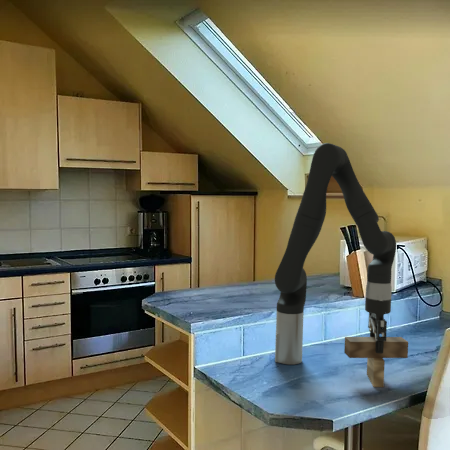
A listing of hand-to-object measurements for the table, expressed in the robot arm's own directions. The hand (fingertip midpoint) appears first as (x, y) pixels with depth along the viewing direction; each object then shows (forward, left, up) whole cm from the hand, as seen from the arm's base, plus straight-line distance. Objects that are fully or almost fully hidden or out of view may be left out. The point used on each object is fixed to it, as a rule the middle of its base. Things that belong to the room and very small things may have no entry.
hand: (376, 348), depth 148 cm
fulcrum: (0, 0, -10) cm, 10 cm away
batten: (0, 0, -2) cm, 2 cm away
